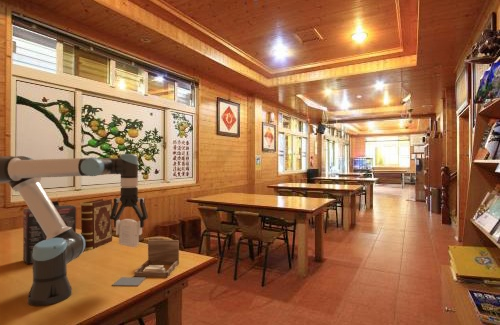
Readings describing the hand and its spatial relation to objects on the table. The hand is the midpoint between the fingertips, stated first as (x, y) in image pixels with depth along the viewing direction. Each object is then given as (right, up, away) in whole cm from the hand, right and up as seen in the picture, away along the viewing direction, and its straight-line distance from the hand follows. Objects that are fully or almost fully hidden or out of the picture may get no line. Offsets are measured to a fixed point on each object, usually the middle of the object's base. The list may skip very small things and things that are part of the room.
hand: (129, 234), depth 139 cm
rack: (+9, -22, +16) cm, 29 cm away
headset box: (-61, -23, +36) cm, 75 cm away
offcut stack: (+9, -22, +9) cm, 26 cm away
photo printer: (0, -5, 0) cm, 5 cm away
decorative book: (-47, -23, +61) cm, 81 cm away
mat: (0, -22, 0) cm, 22 cm away
